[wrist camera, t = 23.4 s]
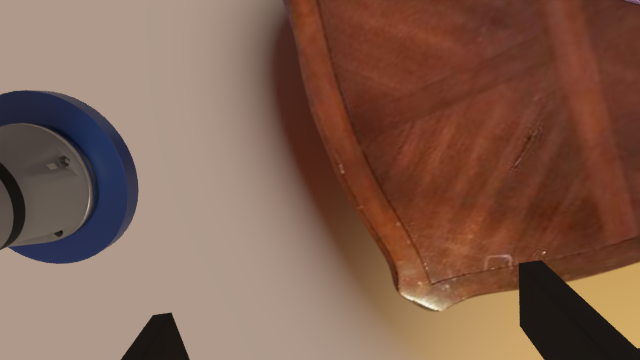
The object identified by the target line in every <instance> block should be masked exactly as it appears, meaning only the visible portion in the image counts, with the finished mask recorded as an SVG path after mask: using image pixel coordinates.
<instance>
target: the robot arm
mask: <svg viewBox="0 0 640 360" xmlns="http://www.w3.org/2000/svg"><path fill="white" fill-rule="evenodd" d="M98 194H99V190H98V181H97V176H96V173H95V170H94V168H93V165H92V163H91V161H90V159H89V158H88V156H87V155H86V153H85V152H84V151H83V149H82V148H81V147H80V146H79V145H78V144H77V143H76V142H75V141H74V140H73V139H72V138H70V137H69V136H68V135H66V134H65V133H63V132H62V131H60V130H58V129H56V128H53V127H51V126H48V125H44V124H40V123H17V124H8V125H4V126H1V127H0V250H1V249H3V248H6V247H12V246H20V245H29V244H38V243H47V242H52V241H57V240H60V239H63V238H65V237H67V236H69V235H71V234H73V233H75V232H77V231H79V230H80V229H82V228H83V227H84V226H85V225H86V224H87V223H88V222H89V220H90V219H91V218H92V216H93V214H94V212H95V209H96V206H97V202H98ZM519 300H520V301H519V305H520V327H521V328H522V329H523V331H524V332H525V334H526V335H527V336H528V338H529V339H530V341H531V342H532V343H533V345H534V346H535V347H536V349H537V350H538V351H539V353H540V354H541V356H542V357H543V358H544V360H640V348H638V349H637V348H636V347H635V346H634V345H633V344H631V343H630V342H629V341H628V340H627V339H626V338H625V337H624V336H623V335H622V334H621V333H620V332H618V331H617V330H616V329H615V328H614V327H613V326H612V325H611V324H610V323H608V321H607V320H606V319H604V318H603V317H602V316H601V315H600V314H599V313H598V312H597V311H596V310H595V309H594V308H592V307H591V306H590V305H589V304H588V303H587V302H586V301H585V300H584V299H583V298H582V297H581V296H579V295H578V294H577V293H576V292H575V291H574V290H573V289H572V288H571V287H570V286H569V285H568V284H566V283H565V282H564V281H563V280H562V279H561V278H560V277H559V276H558V275H557V274H556V273H555V272H553V271H552V270H551V269H550V268H549V267H548V266H547V265H546V264H545V263H544V262H543V261H542V260H539V261H532V262H525V263H519ZM121 360H190V359H189V357H188V354H187V352H186V349H185V346H184V344H183V341H182V339H181V336H180V334H179V331H178V329H177V326H176V323H175V321H174V318H173V316H172V313H166V314H158V315H153V316H152V317H151V319H150V320H149V322H148V323H147V324H146V326H145V327H144V328H143V330H142V331H141V333H140V334H139V335H138V337H137V338H136V339H135V341H134V342H133V344H132V345H131V346H130V348H129V349H128V350H127V352H126V353H125V355H124V356H123V357H122V359H121Z"/></svg>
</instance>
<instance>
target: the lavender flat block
mask: <svg viewBox="0 0 640 360" xmlns="http://www.w3.org/2000/svg"><path fill="white" fill-rule="evenodd" d="M624 1H628V2H631V3H635V4H639V5H640V0H624Z"/></svg>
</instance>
